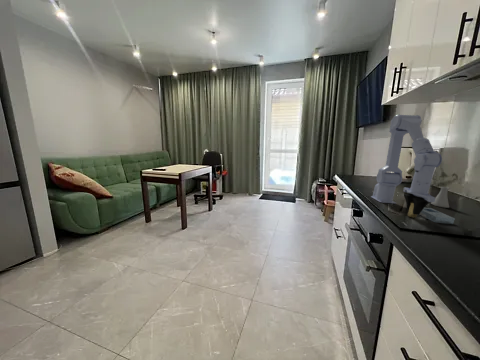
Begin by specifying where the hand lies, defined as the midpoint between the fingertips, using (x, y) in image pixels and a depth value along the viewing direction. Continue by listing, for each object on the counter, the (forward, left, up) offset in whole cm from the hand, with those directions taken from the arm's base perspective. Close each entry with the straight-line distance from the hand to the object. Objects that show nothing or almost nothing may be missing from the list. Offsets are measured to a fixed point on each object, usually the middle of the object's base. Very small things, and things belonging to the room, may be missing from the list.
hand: (412, 212), depth 86 cm
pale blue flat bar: (-4, +10, -2) cm, 11 cm away
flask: (-22, +29, -3) cm, 36 cm away
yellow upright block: (0, 0, -2) cm, 2 cm away
